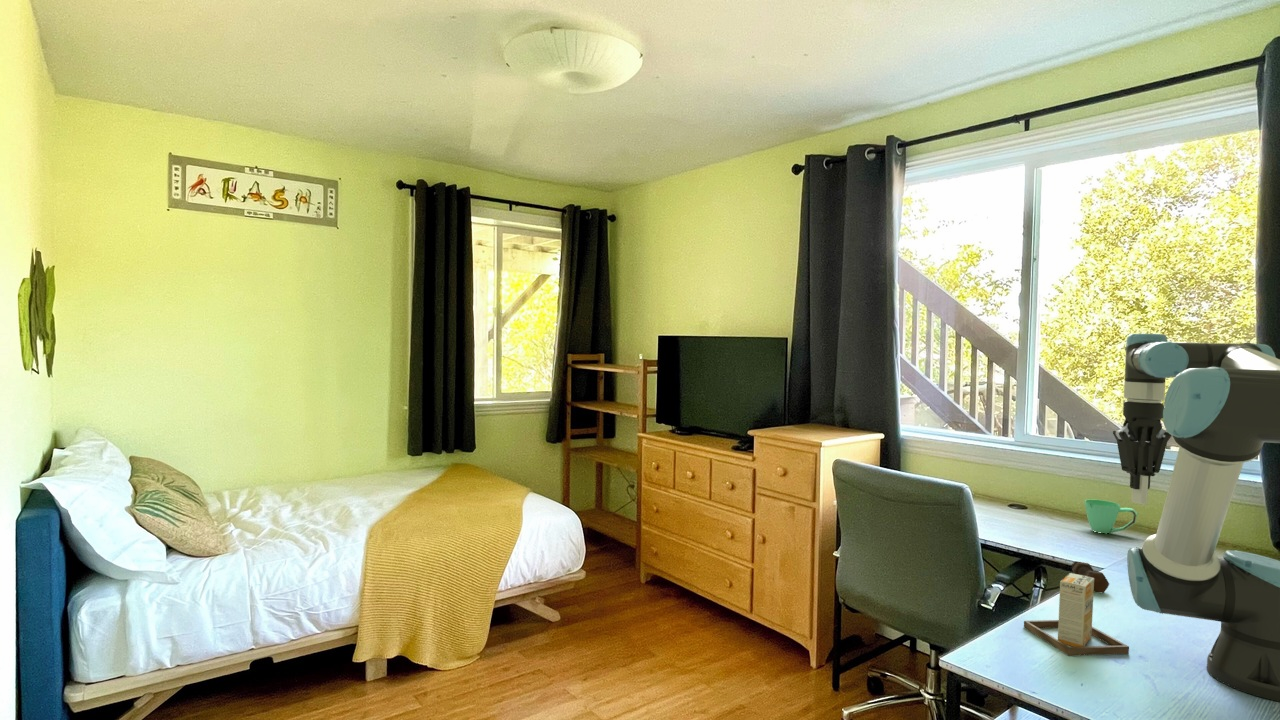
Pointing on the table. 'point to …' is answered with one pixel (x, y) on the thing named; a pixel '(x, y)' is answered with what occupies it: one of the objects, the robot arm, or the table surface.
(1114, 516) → the mug
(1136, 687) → the table surface
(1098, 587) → the bolt
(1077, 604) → the supplement box
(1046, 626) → the frame
